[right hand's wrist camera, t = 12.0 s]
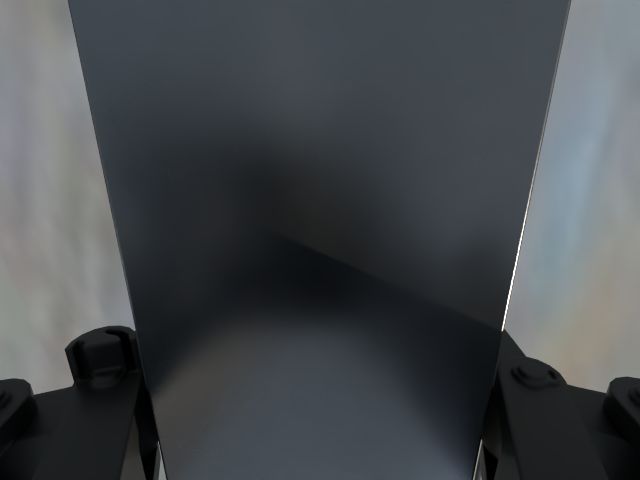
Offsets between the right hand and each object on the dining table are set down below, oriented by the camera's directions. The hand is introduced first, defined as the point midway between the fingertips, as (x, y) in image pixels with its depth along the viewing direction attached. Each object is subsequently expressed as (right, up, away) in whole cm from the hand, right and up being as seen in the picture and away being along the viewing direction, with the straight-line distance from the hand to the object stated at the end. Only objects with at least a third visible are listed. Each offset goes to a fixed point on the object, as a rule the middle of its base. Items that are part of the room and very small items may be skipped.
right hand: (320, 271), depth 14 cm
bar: (0, +10, -3) cm, 11 cm away
